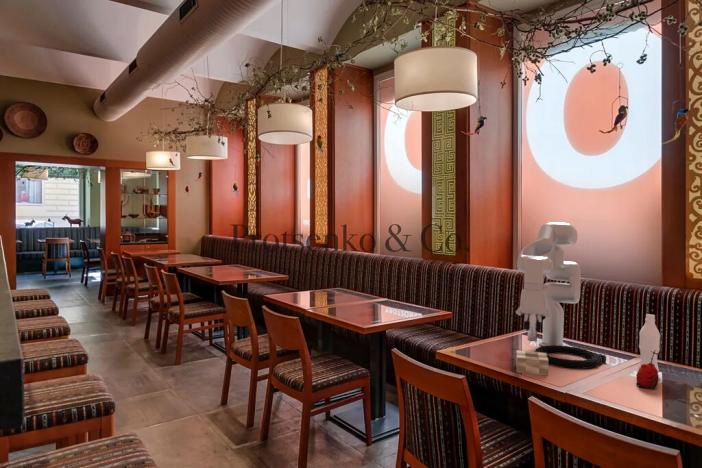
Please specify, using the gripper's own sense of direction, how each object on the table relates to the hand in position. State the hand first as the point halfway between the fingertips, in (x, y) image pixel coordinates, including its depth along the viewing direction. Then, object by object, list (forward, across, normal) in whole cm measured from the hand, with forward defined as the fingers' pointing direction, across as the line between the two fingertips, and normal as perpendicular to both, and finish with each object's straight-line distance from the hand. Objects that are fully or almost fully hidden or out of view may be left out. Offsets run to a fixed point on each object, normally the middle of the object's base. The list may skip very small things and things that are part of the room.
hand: (532, 330), depth 201 cm
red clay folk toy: (+17, -41, +7) cm, 45 cm away
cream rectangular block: (+17, 0, 0) cm, 17 cm away
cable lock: (+17, -17, -21) cm, 32 cm away
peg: (+4, 0, 0) cm, 4 cm away
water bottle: (+17, -45, -8) cm, 49 cm away
